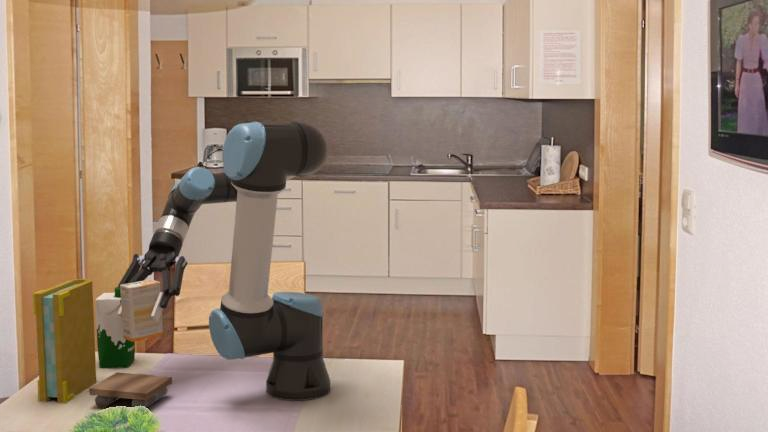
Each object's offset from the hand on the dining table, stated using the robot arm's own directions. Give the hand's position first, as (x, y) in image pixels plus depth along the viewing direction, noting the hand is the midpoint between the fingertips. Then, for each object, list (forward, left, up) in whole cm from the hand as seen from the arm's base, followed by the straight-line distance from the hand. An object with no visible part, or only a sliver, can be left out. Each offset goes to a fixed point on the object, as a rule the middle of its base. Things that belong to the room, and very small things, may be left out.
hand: (137, 317), depth 216 cm
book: (+16, +4, -18) cm, 24 cm away
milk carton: (+16, -17, -18) cm, 29 cm away
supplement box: (0, -2, -5) cm, 6 cm away
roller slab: (-2, +8, -17) cm, 19 cm away
